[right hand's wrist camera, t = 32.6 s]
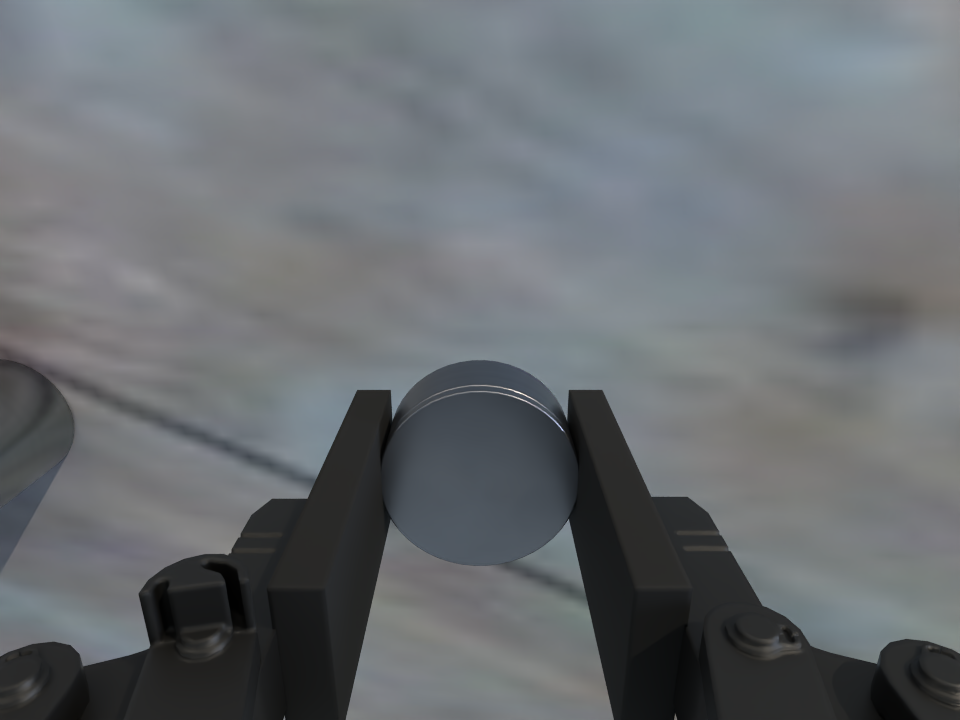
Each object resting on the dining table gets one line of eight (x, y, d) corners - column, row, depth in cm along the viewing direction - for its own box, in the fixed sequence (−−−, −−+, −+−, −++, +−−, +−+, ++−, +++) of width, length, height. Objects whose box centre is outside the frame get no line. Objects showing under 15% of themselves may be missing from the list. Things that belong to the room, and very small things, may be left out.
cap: (595, 390, 14) (611, 425, 13) (533, 537, 16) (540, 586, 14) (418, 335, 14) (410, 365, 12) (370, 492, 15) (357, 537, 13)
